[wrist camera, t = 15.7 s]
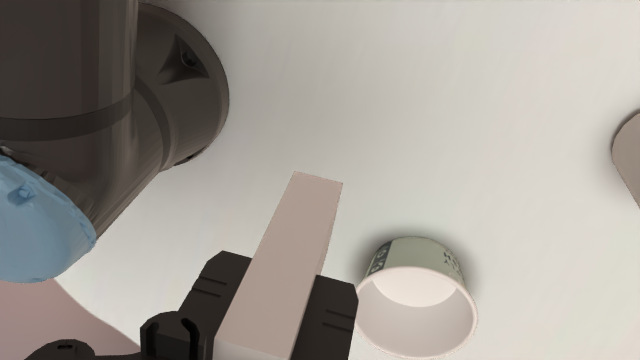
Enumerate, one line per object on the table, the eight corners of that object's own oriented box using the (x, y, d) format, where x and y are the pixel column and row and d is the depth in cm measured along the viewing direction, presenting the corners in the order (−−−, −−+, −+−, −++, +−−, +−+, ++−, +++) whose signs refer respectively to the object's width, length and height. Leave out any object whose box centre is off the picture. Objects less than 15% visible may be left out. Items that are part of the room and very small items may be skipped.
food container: (498, 284, 53) (504, 333, 47) (405, 327, 59) (401, 375, 53) (426, 205, 50) (424, 247, 44) (335, 258, 55) (323, 302, 50)
